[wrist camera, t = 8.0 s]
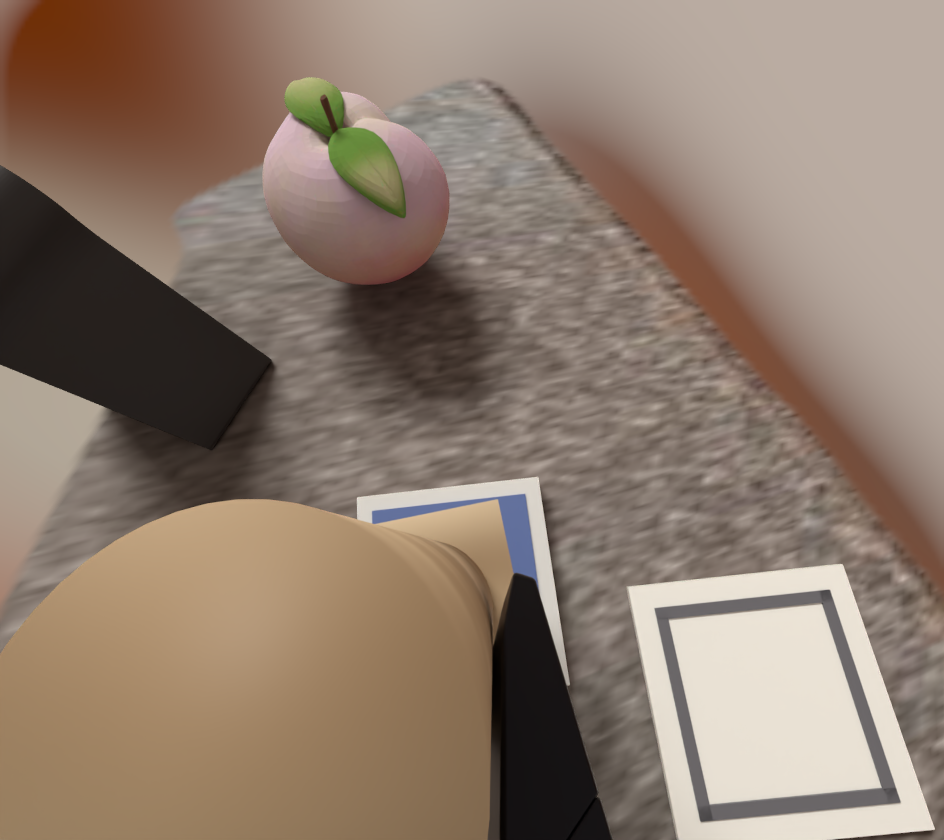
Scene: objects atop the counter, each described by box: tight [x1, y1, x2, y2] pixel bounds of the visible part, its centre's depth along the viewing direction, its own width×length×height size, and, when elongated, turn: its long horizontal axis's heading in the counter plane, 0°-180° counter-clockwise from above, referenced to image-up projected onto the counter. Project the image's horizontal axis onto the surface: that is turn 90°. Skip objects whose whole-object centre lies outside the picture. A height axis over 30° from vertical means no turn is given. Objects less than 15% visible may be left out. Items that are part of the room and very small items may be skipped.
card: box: [626, 564, 935, 840], centre depth 18 cm, size 10×10×1 cm
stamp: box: [0, 499, 514, 840], centre depth 8 cm, size 5×5×12 cm
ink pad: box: [357, 477, 570, 685], centre depth 20 cm, size 9×9×1 cm
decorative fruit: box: [263, 78, 449, 285], centre depth 22 cm, size 9×8×10 cm
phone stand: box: [0, 165, 271, 450], centre depth 19 cm, size 9×6×12 cm, turn 64°
